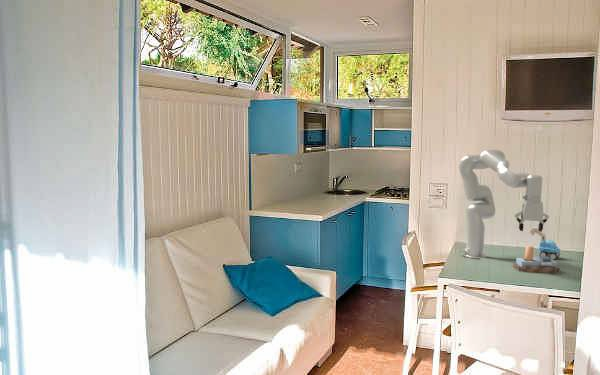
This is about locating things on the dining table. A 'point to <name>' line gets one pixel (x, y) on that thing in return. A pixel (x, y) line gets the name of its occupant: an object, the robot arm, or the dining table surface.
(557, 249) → the toy excavator
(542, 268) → the cradle
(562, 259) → the dining table surface
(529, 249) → the tail peg
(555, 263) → the pale blue peg socket
